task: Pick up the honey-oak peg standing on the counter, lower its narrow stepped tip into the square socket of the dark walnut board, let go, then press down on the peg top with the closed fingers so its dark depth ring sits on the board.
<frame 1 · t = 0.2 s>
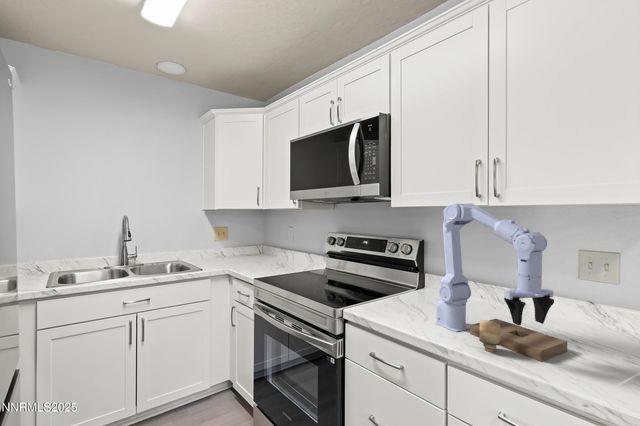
hand: (528, 323, 91), 10 cm above the countertop, tool pointing down, fingers open, 7 cm apart
oak peg: (489, 350, 95), on the countertop
walnut board: (515, 342, 101), on the countertop
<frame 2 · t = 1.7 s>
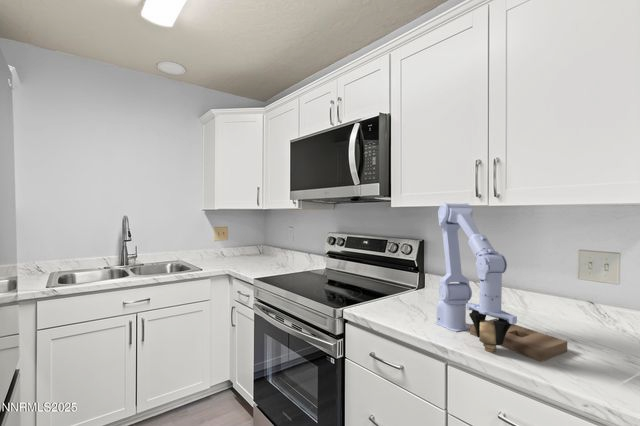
hand: (489, 340, 95), 3 cm above the countertop, tool pointing down, fingers closed on oak peg, 5 cm apart
oak peg: (489, 350, 95), on the countertop, touching gripper
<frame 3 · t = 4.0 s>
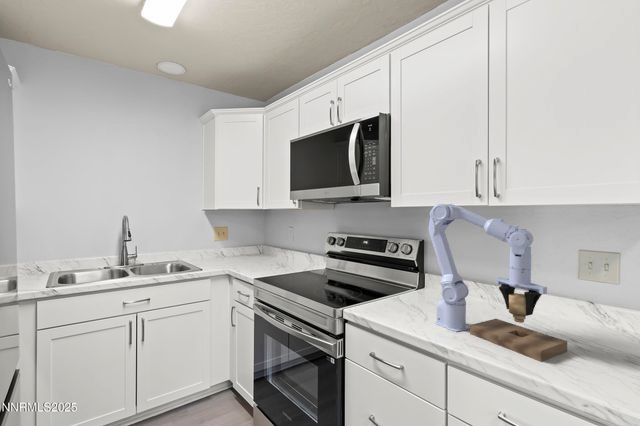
hand: (519, 311, 100), 10 cm above the countertop, tool pointing down, fingers closed on oak peg, 5 cm apart
oak peg: (519, 321, 100), point 7 cm above the countertop, touching gripper
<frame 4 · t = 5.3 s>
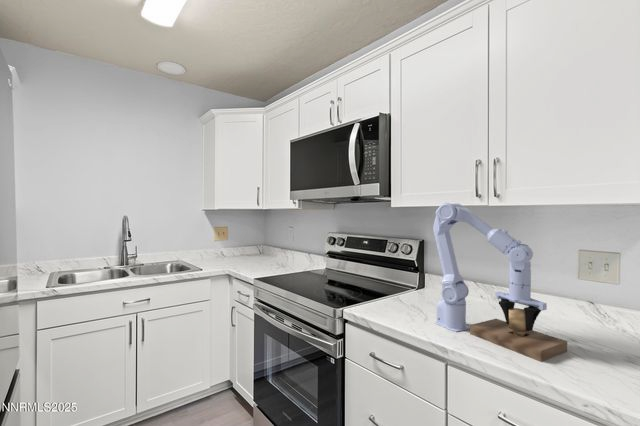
hand: (519, 326, 100), 5 cm above the countertop, tool pointing down, fingers closed on oak peg, 5 cm apart
oak peg: (519, 336, 100), point 2 cm above the countertop, touching gripper
when the fingers open (4 cm above the countertop, at t = 6.2 s): oak peg stays where it is, resting on walnut board.
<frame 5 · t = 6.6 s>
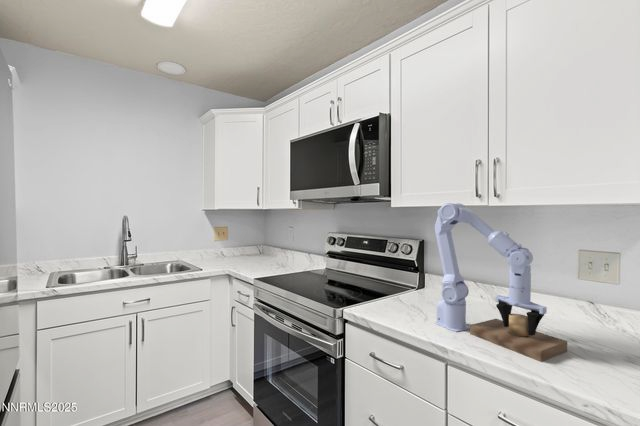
hand: (519, 330, 100), 4 cm above the countertop, tool pointing down, fingers open, 7 cm apart
oak peg: (518, 342, 100), resting on walnut board
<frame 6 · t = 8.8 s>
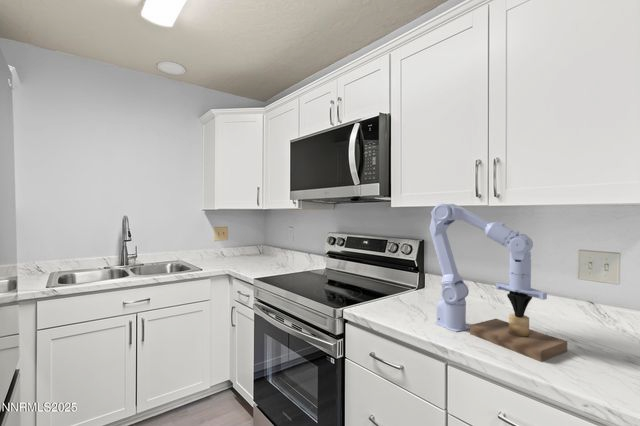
hand: (519, 317, 100), 8 cm above the countertop, tool pointing down, fingers closed, pressing on oak peg
oak peg: (518, 342, 100), resting on walnut board, touching gripper
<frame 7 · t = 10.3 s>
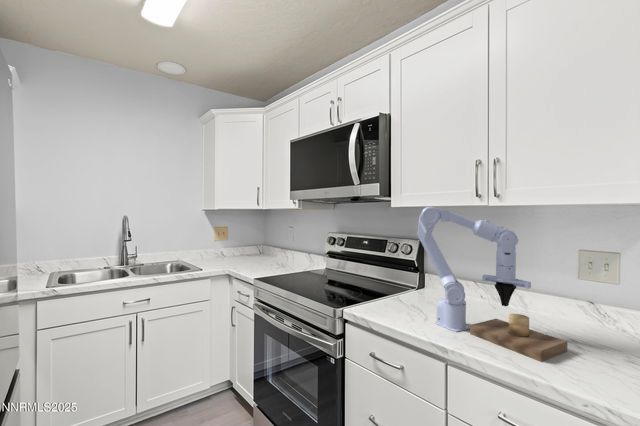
hand: (505, 305, 108), 9 cm above the countertop, tool pointing down, fingers closed
oak peg: (518, 342, 100), resting on walnut board
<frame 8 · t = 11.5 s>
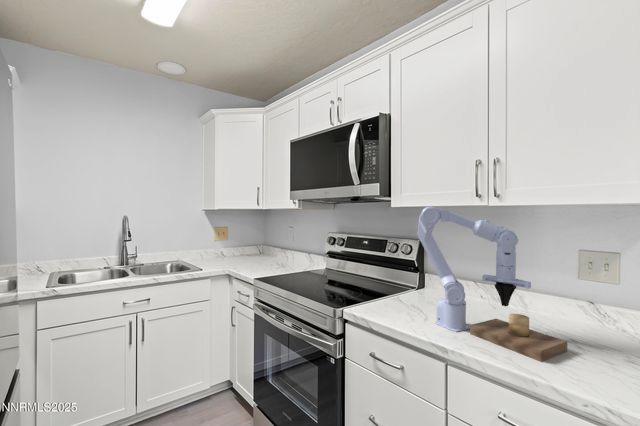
hand: (505, 305, 108), 9 cm above the countertop, tool pointing down, fingers closed
nothing on the countertop moved.
at the end: oak peg 0.1 cm off-centre on the walnut board, point 0.4 cm above the walnut board's base; oak peg tilted 0°; the gripper is holding nothing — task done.
